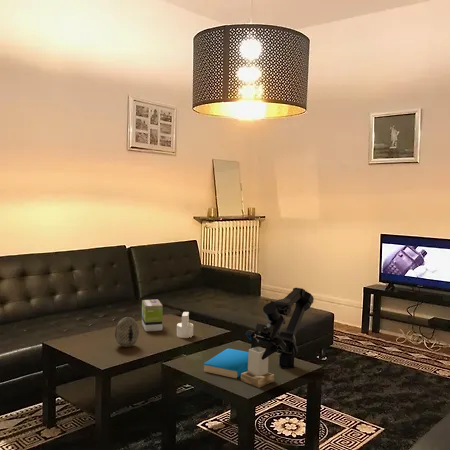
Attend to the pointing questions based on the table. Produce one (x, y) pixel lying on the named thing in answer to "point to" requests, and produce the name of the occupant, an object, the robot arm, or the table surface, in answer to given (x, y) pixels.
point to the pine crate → (257, 379)
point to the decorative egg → (127, 332)
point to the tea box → (152, 315)
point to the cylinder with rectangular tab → (185, 327)
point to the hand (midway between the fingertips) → (256, 357)
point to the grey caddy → (257, 362)
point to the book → (228, 363)
